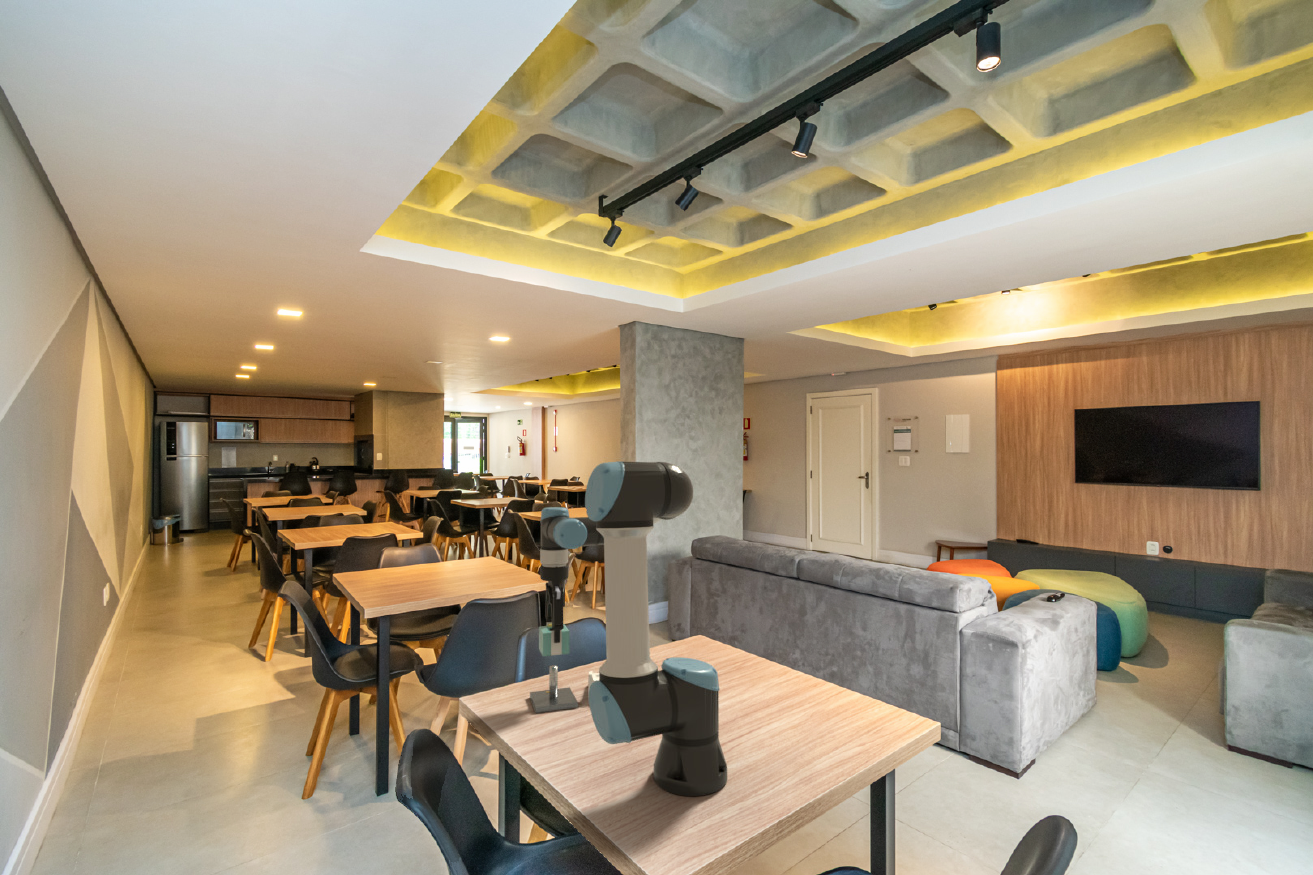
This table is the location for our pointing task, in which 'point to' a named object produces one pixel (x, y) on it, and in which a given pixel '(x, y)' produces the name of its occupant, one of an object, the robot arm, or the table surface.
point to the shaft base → (553, 703)
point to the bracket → (592, 679)
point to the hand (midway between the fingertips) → (553, 650)
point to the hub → (546, 640)
